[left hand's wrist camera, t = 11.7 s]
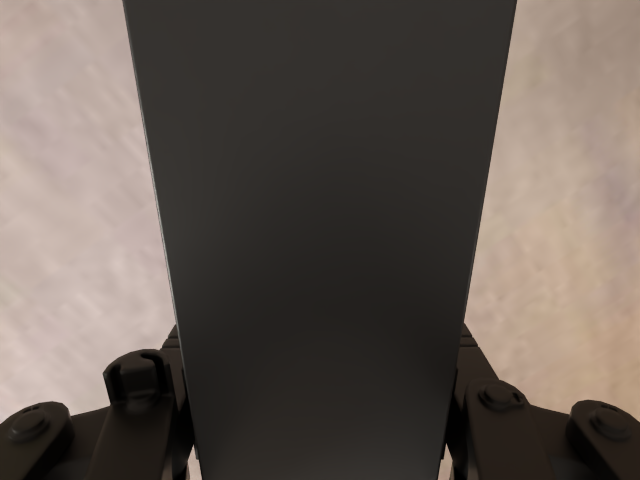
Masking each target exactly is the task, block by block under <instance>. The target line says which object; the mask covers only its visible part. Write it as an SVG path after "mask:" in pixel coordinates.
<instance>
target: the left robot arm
mask: <svg viewBox="0 0 640 480" xmlns="http://www.w3.org/2000/svg"><path fill="white" fill-rule="evenodd" d="M103 377H104V381H105V384H106V388H107V392H108V396H109V400H110V403H111V404H110V406H108V407H105V408H102V409H99V410H94V411H90V412H86V413H82V414H78V415H73V416H70V413H69V410H68V408H67V407H66V406H65V405H64V404H63V403H58V402H53V401H51V402H43V403H38V404H35V405H32V406H29V407H26V408H24V409H22V410H20V411H18V412H17V413H15V414H13V415H11V416H10V417H9V418H7V419H6V420H5V421H4V422H3V423H1V424H0V480H190V474H189V467H188V458H189V456H190V453H191V450H192V447H193V444H194V449H195V455H196V460H199V458H198V452H197V446H196V440H195V434H194V428H193V422H192V416H191V410H190V404H189V398H188V392H187V386H186V380H185V374H184V368H183V362H182V356H181V350H180V344H179V338H178V332H177V326H176V325H175V326H174V327H173V329H172V331H171V332H170V334H169V336H168V339H166V340H165V342H164V344H163V345H162V348H161V349H160V350H156V349H142V350H138V351H133V352H130V353H128V354H125V355H123V356H121V357H119V358H117V359H116V360H115V361H113V362H112V363H111V364H109V365H108V367H107V368H106V369H105V371H104V372H103ZM446 443H447V446H448V449H449V452H450V454H451V457H452V460H453V461H452V467H451V473H450V478H449V480H640V422H639V421H637V420H636V419H635V418H634V417H633V416H631V415H630V414H628V413H627V412H625V411H623V410H621V409H619V408H618V407H616V406H613V405H610V404H607V403H604V402H601V401H594V400H584V401H578V402H577V403H576V404H575V405H574V406H573V407H572V409H571V412H570V415H569V414H565V413H560V412H556V411H552V410H548V409H544V408H540V407H537V406H534V405H531V404H529V402H528V400H527V399H526V397H525V396H524V394H523V393H521V392H520V391H519V390H518V389H517V388H516V387H514V386H512V385H510V384H508V383H506V382H504V381H502V380H499V378H498V377H497V375H496V374H495V372H494V370H493V369H492V367H491V365H490V364H489V362H488V360H487V359H486V357H485V356H484V354H483V352H482V351H481V349H480V347H478V344H477V343H476V341H475V339H474V338H472V334H471V333H470V331H469V330H468V328H467V326H466V325H465V324H463V330H462V336H461V342H460V348H459V354H458V360H457V366H456V372H455V378H454V384H453V390H452V396H451V402H450V408H449V414H448V420H447V426H446V432H445V438H444V444H443V450H442V456H441V460H443V459H444V453H445V447H446Z"/></svg>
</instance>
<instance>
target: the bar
mask: <svg viewBox="0 0 640 480" xmlns="http://www.w3.org/2000/svg"><path fill="white" fill-rule="evenodd" d="M122 1H123V7H124V13H125V19H126V25H127V31H128V37H129V43H130V49H131V55H132V61H133V67H134V73H135V79H136V85H137V91H138V97H139V103H140V109H141V115H142V121H143V127H144V133H145V139H146V145H147V151H148V157H149V163H150V169H151V175H152V181H153V187H154V193H155V199H156V205H157V211H158V217H159V223H160V229H161V235H162V241H163V247H164V253H165V259H166V265H167V271H168V277H169V283H170V289H171V295H172V301H173V307H174V313H175V319H176V326H177V332H178V338H179V344H180V350H181V356H182V362H183V368H184V374H185V380H186V386H187V392H188V398H189V404H190V410H191V416H192V422H193V428H194V434H195V440H196V446H197V452H198V458H199V464H200V470H201V476H202V480H438V474H439V468H440V462H441V456H442V450H443V444H444V438H445V432H446V426H447V420H448V414H449V408H450V402H451V396H452V390H453V384H454V378H455V372H456V366H457V360H458V354H459V348H460V342H461V336H462V330H463V324H464V318H465V312H466V306H467V300H468V294H469V288H470V282H471V275H472V269H473V263H474V257H475V251H476V245H477V239H478V233H479V227H480V221H481V215H482V209H483V203H484V197H485V191H486V185H487V179H488V173H489V167H490V161H491V155H492V149H493V143H494V137H495V131H496V125H497V119H498V113H499V107H500V101H501V95H502V89H503V83H504V76H505V70H506V64H507V58H508V52H509V46H510V40H511V34H512V28H513V22H514V16H515V10H516V4H517V0H122Z"/></svg>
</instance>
